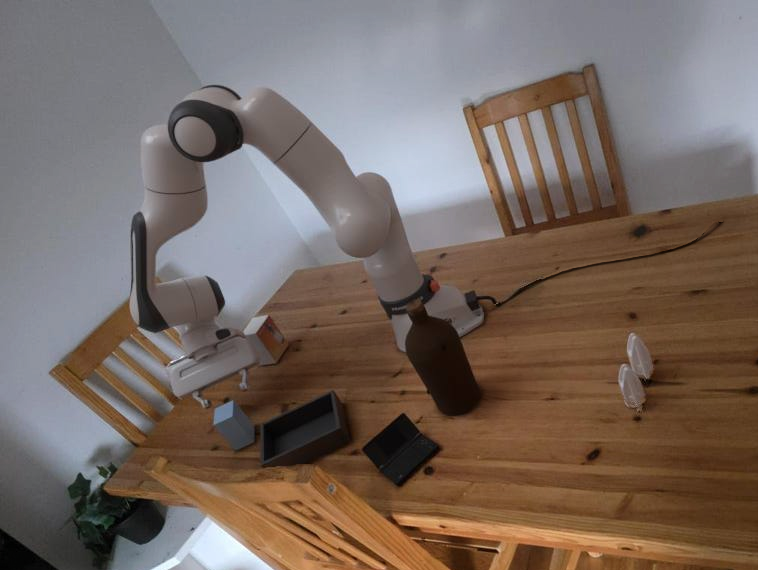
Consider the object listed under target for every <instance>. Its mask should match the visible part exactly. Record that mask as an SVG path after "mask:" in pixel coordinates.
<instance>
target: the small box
mask: <svg viewBox="0 0 758 570" xmlns="http://www.w3.org/2000/svg"><path fill="white" fill-rule="evenodd" d="M242 331H243V332H244V334H245V336H246V339H247V340H249V341H250V342H251V343H252V344H253V346H254V347H255V349H256V351H257V352H258V354H259V356H260V363H259V366H267V365H274V364H277V363H278V362H279V360H280V359H281V357H282V355H283V354H284V352H286V350H287V348H288V347H289V346H290V344H289V342H288V341H287V339H286V338H285V336H284V335H283V333H282V332H281V331H280V329H279V327H278V326H277V324H276V323H275V322H274V320H273V318H272V317H271V316H270V315H269V314H267V315H261V316H255V317H252V318H251V319H250V321H249V323H248V324H247V326H245V328H244V329H243V330H242Z"/></svg>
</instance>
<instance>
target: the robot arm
mask: <svg viewBox="0 0 758 570" xmlns="http://www.w3.org/2000/svg"><path fill="white" fill-rule="evenodd" d="M243 145H248V146H250V147H253V148H255V149H256V150H257V151H259V152H260V153H261V154H262V155H263V156H264V157H265V158H266V159H267V160H268V161H269V162H270V163H272V164H273V166H275V167H276V168H277V169H278V170H279V171H280V172H281V173H282V174H283V175H285V177H287V178H288V179H289V180H290V181H291V182H292V184H294V185H295V186H296V187H297V188H299V190H300V191H301V192H302V193H303V194H304V195H305V196H306V197H307V198H308V200H309V201H310V202H311V204H312V205H313V206H314V207H315V209H316V210H317V212H318V214H320V216H321V217H322V218H323V220H324V221H325V223H326V224H327V225H328V227H329V230H331V232H332V234H333V237H334V240H335V242H336V245H337V246H338V248H339V249H340V250H341V251H343V253H345V254H346V255H348V256H350V257H352V258H357V259H362V260H363V266H364V270H365V272H366V274H367V276H368V278H369V280H370V281H371V284H372V285H373V288H374V290H375V291H376V293H377V297H378V302H379V304H380V306H381V308H382V310H383V312H384V314H385V316H386V317H387V318H388V319H389V321H390V323H391V326H392V329H393V332H394V336H395V342H396V346H397V348H398V349H399V350H400V351H401V352H403V353H406V349H405V339H406V336H407V334H408V331H409V329H410V327H411V325H412V321H411V320H410V318H409V316H408V312H407V310H406V308H405V307H406V305H407V304H408V303H409V302H410V301H412V300H416V299H418V300H421V302H422V304H423V305H424V306H425V309H426V311H427V313H428V315H429V316H432V317H437V318H441V319H444V320H446V321H448V322H449V323H450V324H451V325H452V326H453V327H454V328H455V329H456V331H457V332H458V334H459V337H460V338H462V337H463V336H464V335H465V336H466V334H468V333H470V332H471V331H473V330H474V329H476V328H477V327H479V326H481V325H482V324H483V323H484V320H485V312H484V309H483V307H482V306H481V304H480V302H479V301H484V300H488V301H491V302H492V304H493V305H494V304H496V303H497V302H498V304H496V305H494V306H495V307H501V306H504V305H505V304H507V303H508V302H509V301H511V300H512V299H515V297H517V296H518V295H520V294H521V292H523V291H524V290H526V289H529V287H531V286H533V285H535V284H537V283H539V282H541V281H543V280H545V279H543V280H542V279H539V280H536V281H534V282H532V283H530V282H529V283H530V284H528V283H527V284H528V285H526V284H525V285H526V286H524V285H523V286H524V287H522V286H521V287H522V288H521V287H519V288H518V289H517V290H516V291H515V292H513V294H511V295H510V296H509V297H508V298H507V299H505V300H503V301H497V300H496V298H495V297H493V296H491V295H477V293H476V291H475V289H473V290H470V291H467V292H465V293H464V292H463V291H462V290H461V289H460V288H458V287H456V286H455V285H449V284H440V283H439V282H438V281H437V280H435V278H434V277H433V275H431V274H430V272H428V271H425V272H426V274H425V273H422V271H421V269H420V267H419V264H418V263H417V260H416V258H415V256H414V253H413V251H412V249H411V248H412V247H411V246H410V243H409V239H408V236H407V233H406V229H405V226H404V223H403V220H402V217H401V214H400V211H399V208H398V205H397V202H396V199H395V196H394V193H393V189H392V187H391V184H390V183H389V181H388V180H387V178H385V177H384V176H382V175H381V174H379V173H376V172H371V171H367V172H361V173H360V174H357V176H356V175H355V173H354V172H353V170H352V169H351V167H350V166H349V164H348V162H347V159H346V158H345V155H344V154H343V152H342V151H341V149H339V148H338V147H337V146H336V145H335V144H334V143H333V142H332V141H331V140H330V139H329V137H327V135H325V133H324V132H323V131H321V130H320V129H319V128H318V126H316V125H315V124H314V123H313V122H312V121H311V120H310V119H309V118H308V116H306V114H304V113H303V112H302V111H301V110H300V109H298V108H297V106H295V105H294V104H293V103H291V102H290V101H289V100H288V99H286V98H285V97H283V96H282V95H281V94H279V93H278V92H277V91H275V90H274V89H272V88H270V87H265V86H264V87H263V86H261V87H257V88H255V89H252V90H250V91H248V92H247V93H246V94H245V95H243V96H242V97H241V95H240V94H239V93H237V92H236V91H235V90H234V89H232V88H230V87H228V86H225V85H221V84H209V85H205V86H202V87H201V88H199V89H198V90H196V91H193V92H191V93H189V94H187V95H186V96H185V97H184V98H182V100H181V101H180V102H179V103H178V104H176V105H175V106H174V107H173V109H172V110H171V111H170V114H169V117H168V120H167V123H163V124H156V125H153V126H151V127H149V128H147V129H146V130H144V131H143V133H142V135H141V137H140V166H141V175H142V181H143V186H144V200H143V203H142V205H141V207H140V209H139V210H138V211H137V212H136V213H135V214H134V215H133V216H132V218H131V223H130V291H129V312H130V315H131V318H132V320H133V322H134V323H135V325H136V326H137V327H138V328H140V329H142V330H144V331H147V332H150V333H153V334H157V333H160V332H163V331H166V330H169V329H171V328H176V329H177V331H178V332H179V334H178V335H179V341H180V343H181V346H182V348H183V350H184V352H185V354H183V355H181V356H178V357H177V358H175V359H172V360H171V361H169V362H168V364H167V366H166V367H165V372H166V375H167V378H168V379H169V383H170V387H171V390H172V393H173V395H174V397H177V398H179V399H185V400H186V399H188V398H190V397H192V398H193V399H195V400H197V401H198V402H199V403H201V405H202V408H203V409H204V410H209V409H211V408H213V404H212V401H211V399H204V398H203V396H204V395H203V391H206V390H207V389H210V388H213V387H214V386H216V385H219V384H221V383H223V382H224V381H228V380H229V379H231V378H233V377H236V376H238V375H240V376H242V378H241V379H242V380H241V381H242V382H241V383H239V384H238V386H239V388H240V390H241V392H244V393H245V392H247V391H249V390H251V386H250V384H249V381H250V371H249V370H250V369H253V368H255V367H257V366H260V364H259V363H260V356H259V354H258V352H257V351H256V349H255V347H254V346H253V344H252V343H251V342H250V341H249V340H247V339H246V336H245V334H244V332H243V331H244V330H241V329H239V328H237V327H233V326H228V327H222V328H220V326H219V325H218V323H217V322H216V319H215V318H217V317H218V316H219V315H220V313H221V312H222V310H223V309H224V308H225V306H226V300H225V296H224V295H223V291H222V289H221V287H220V285H219V282H218V281H216V280H215V279H214V278H212V277H210V276H208V275H206V274H204V275H203V274H202V275H193V276H189V277H180V278H176V279H174V280H171V281H166V282H160V283H157V254H158V252H159V251H160V249H161V248H162V247H163V246H164V245H165V244H166V243H168V242H169V241H170V240H172V239H174V238H175V237H177V236H179V235H181V234H182V233H184V232H187V231H189V230H190V229H192V228H194V227H195V226H196V225H197V224H198V223H199V222H201V221H202V220H203V218H204V216H205V215H206V213H207V211H208V205H209V204H208V203H209V198H208V196H209V195H208V187H207V180H206V175H205V165H204V164H205V163H211V162H215V161H218V160H220V159H222V158H225V157H227V156H228V155H231V154H232V153H234V152H236V151H238V150H240V149H241V148H242V147H243ZM541 277H542V276H541ZM542 278H543V277H542ZM479 304H480V305H479ZM480 306H481V307H480ZM482 311H483V312H482ZM482 314H483V316H482Z"/></svg>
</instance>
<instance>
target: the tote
mask: <svg viewBox="0 0 758 570" xmlns="http://www.w3.org/2000/svg"><path fill="white" fill-rule="evenodd" d="M347 423H348V422H347V418H346V414H345V408H344V404H343V402H342V400H341V399H340V398H339V396H338V394H337V393H336V391H335V390H334V389H332V390H330V391H327V392H325V393H323V394H321V395H319V396H316V397H315V398H313V399H311V400H308V401H306V402H304V403H301V404H299V405H298V406H295V407H293V408H291V409H289V410H287V411H285V412H283V413H281V414H278V415H277V416H275V417H272V418H270V419H268V420H266V421H264V422H261V423H260V424H259V434H260V435H259V439H260V440H259V441H260V442H259V443H260V445H259V446H260V447H259V448H260V449H259V450H260V451H259V452H260V455H259V456H260V457H259V458H260V467H261V468H262V469H263V468H266V467H276V466H287V465H296V464H304V465H306V464H308V463H309V462H312V461H315V460H316V459H318V458H320V457H322V456H324V455H327V454H328V453H331V452H333V451H335V450H337V449H339V448H342V447H344V446H346V445H347V444H350V443H351V439H350V434H349V433H350V432H349V428H348V424H347Z"/></svg>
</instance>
